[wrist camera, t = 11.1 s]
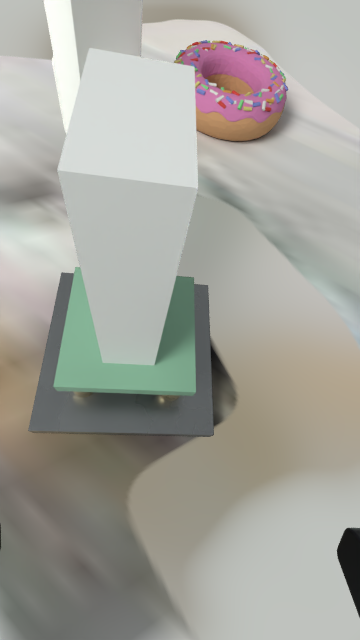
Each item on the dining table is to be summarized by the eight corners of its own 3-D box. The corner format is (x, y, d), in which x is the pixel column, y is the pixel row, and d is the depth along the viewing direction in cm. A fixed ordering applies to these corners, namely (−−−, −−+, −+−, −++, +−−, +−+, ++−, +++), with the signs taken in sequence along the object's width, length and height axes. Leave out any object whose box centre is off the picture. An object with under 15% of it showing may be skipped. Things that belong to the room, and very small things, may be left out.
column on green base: (192, 395, 19) (315, 253, 7) (57, 390, 18) (-105, 209, 5) (191, 285, 22) (269, 55, 10) (77, 275, 21) (7, 5, 9)
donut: (270, 161, 37) (289, 119, 33) (155, 128, 37) (159, 81, 32) (278, 97, 44) (295, 55, 39) (181, 68, 43) (187, 22, 39)
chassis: (209, 436, 22) (226, 429, 18) (33, 432, 21) (12, 424, 17) (204, 292, 27) (216, 264, 24) (64, 280, 26) (53, 248, 22)
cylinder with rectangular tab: (102, 92, 38) (92, -56, 27) (160, 129, 36) (173, -12, 26) (45, 123, 34) (7, -36, 23) (108, 165, 33) (98, 16, 22)
